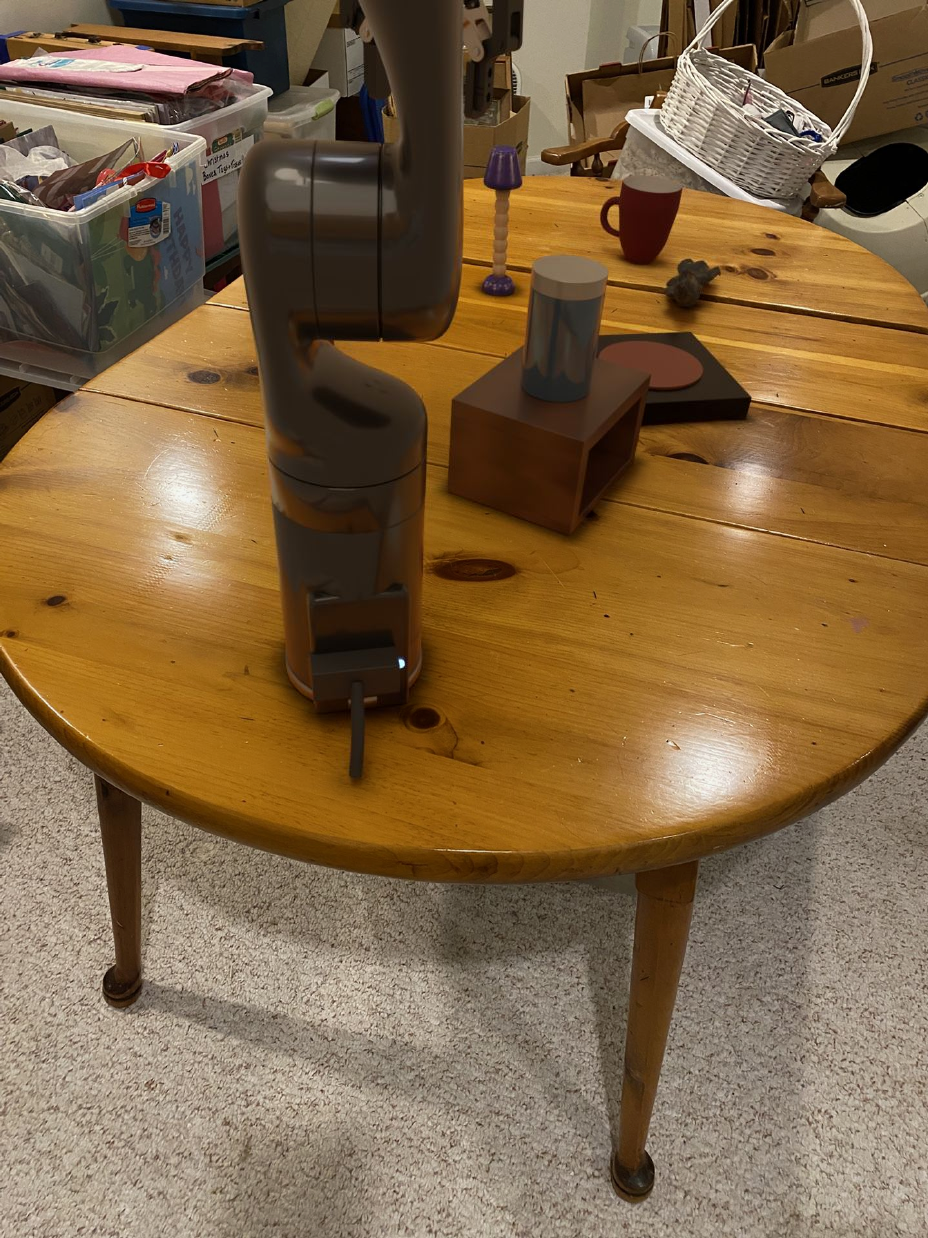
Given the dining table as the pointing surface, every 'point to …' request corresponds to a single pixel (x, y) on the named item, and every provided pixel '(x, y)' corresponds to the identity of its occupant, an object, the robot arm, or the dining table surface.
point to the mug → (644, 215)
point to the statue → (690, 281)
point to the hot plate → (678, 377)
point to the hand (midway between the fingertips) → (426, 106)
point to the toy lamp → (501, 213)
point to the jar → (562, 327)
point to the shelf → (544, 443)
